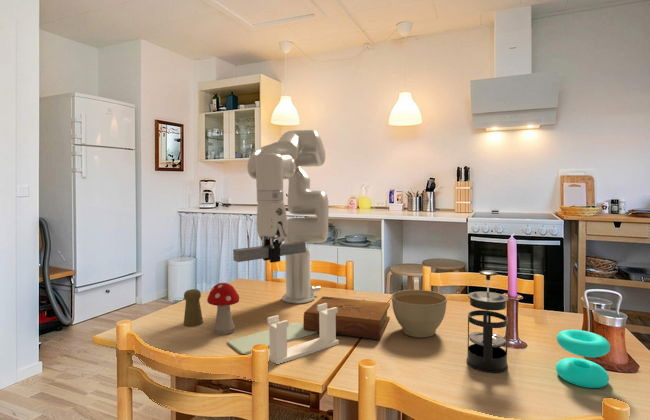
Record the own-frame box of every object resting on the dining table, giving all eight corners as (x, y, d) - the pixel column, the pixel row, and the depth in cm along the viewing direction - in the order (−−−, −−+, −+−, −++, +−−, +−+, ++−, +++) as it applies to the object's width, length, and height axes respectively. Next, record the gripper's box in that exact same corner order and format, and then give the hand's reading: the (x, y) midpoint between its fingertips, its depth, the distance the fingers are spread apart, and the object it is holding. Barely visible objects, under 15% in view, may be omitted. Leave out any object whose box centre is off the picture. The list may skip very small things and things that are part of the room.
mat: (297, 323, 125) (297, 321, 125) (316, 332, 117) (316, 330, 117) (227, 343, 110) (227, 341, 110) (243, 355, 102) (243, 353, 102)
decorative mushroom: (201, 334, 117) (200, 285, 116) (219, 324, 125) (218, 278, 124) (229, 338, 113) (228, 288, 112) (246, 328, 121) (244, 281, 120)
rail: (300, 250, 120) (300, 241, 119) (305, 252, 117) (305, 242, 117) (233, 260, 106) (233, 249, 106) (238, 262, 104) (238, 251, 104)
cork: (197, 327, 123) (195, 293, 122) (179, 326, 124) (178, 292, 123) (206, 320, 129) (205, 288, 128) (189, 319, 130) (188, 287, 129)
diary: (303, 331, 117) (303, 312, 116) (323, 312, 134) (322, 296, 134) (379, 340, 110) (379, 320, 109) (389, 319, 127) (389, 302, 127)
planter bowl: (447, 325, 121) (447, 291, 121) (445, 346, 106) (446, 307, 105) (395, 320, 127) (395, 287, 126) (387, 339, 111) (387, 301, 111)
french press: (466, 352, 102) (467, 265, 101) (506, 357, 99) (507, 268, 97) (465, 372, 91) (467, 276, 90) (510, 379, 88) (512, 279, 86)
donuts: (618, 347, 81) (564, 342, 84) (616, 393, 82) (562, 387, 84) (600, 329, 90) (551, 325, 93) (598, 371, 91) (550, 366, 94)
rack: (327, 338, 113) (326, 302, 112) (339, 344, 108) (338, 307, 108) (266, 357, 100) (265, 318, 100) (277, 365, 96) (276, 323, 95)
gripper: (297, 197, 106) (298, 263, 108) (267, 196, 119) (268, 255, 121) (273, 198, 102) (274, 267, 103) (245, 196, 115) (246, 258, 116)
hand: (271, 260), depth 112 cm, fingers closed on rail, 3 cm apart
